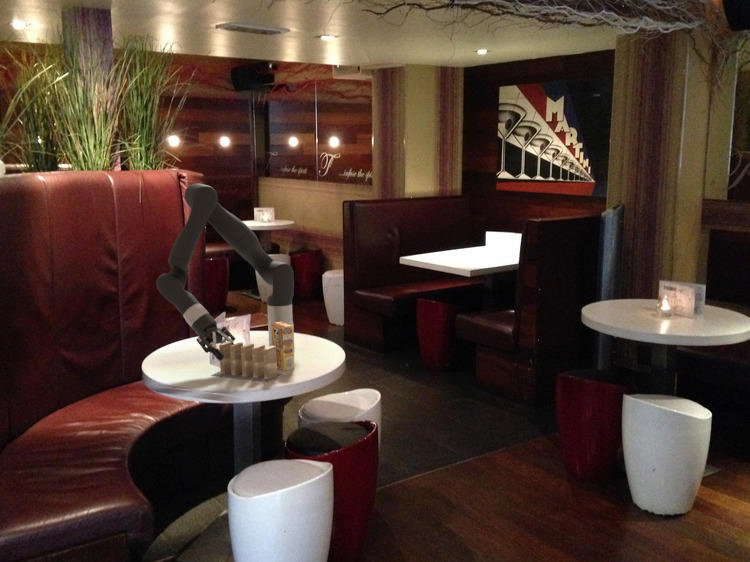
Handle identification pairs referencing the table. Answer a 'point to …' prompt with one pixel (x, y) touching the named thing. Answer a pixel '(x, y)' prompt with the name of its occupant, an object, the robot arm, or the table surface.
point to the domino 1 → (225, 357)
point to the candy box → (283, 344)
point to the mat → (239, 376)
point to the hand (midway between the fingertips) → (229, 355)
